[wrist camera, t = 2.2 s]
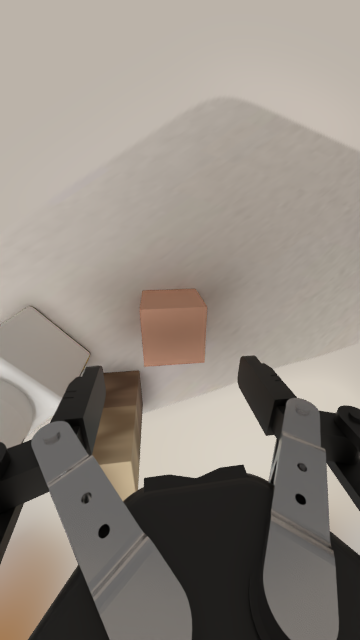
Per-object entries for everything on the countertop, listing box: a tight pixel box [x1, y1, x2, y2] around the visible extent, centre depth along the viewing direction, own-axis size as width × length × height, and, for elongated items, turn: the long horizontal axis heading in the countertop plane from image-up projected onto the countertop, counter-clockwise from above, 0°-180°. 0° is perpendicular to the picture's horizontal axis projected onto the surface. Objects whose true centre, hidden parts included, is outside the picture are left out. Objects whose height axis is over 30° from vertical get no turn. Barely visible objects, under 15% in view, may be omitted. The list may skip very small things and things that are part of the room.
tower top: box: [92, 405, 140, 501], centre depth 18 cm, size 5×5×5 cm
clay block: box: [140, 289, 207, 367], centre depth 19 cm, size 5×5×5 cm
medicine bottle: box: [0, 307, 90, 448], centre depth 16 cm, size 7×7×12 cm
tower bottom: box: [103, 371, 143, 443], centre depth 22 cm, size 5×5×5 cm
